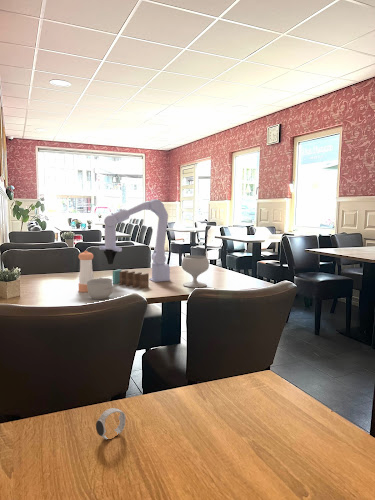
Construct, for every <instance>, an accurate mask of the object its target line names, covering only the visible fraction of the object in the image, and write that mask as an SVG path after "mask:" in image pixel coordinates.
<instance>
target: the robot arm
mask: <svg viewBox="0 0 375 500" xmlns="http://www.w3.org/2000/svg"><path fill="white" fill-rule="evenodd" d="M144 210H146V211H151V212H152V213H154V214H155V215H156V216H157V218H158V222H157V229H156V230H157V231H156V236H155V237H156V239H155V245H154V250H153V253H152V254H151V260H152V261H153V262H151V278H150V277H149V280H150V281H152V282H153V283H157V282H169V281H171V278H170V277H171V269H170V265H169V263H165V262H166V261H167V259H166V251H165V245H166V237H167V228H168V219H169V214H168V211H167V209H166V207H165V205H164V203H163V202H162V201H161V200H159V199H157V198H156V199H151V200H148V201H144V202H141V203H139V204H137V205H135V206H133V207H131V208H129V209H125V208H120V209H119V210H118V211H116V212H114V213H113V212H112V213H111V214H110V215H107V216H106V217H105V218H104V221H103V223H104V245H99V246H98V247H99V248H98V249H99V250H101V251H103V250H104V251H103V253H104V255H105V257H106V259H107V260H106V261H107V264H108V265H114V264H113V263H114V260H115V257H116V255H117V253H118V252H119V253H120V252H123V247H119V246H117V242H116V241H117V239H116V238H117V236H116V235H117V234H116V233H117V229H116V224H120V223H122V222H124V221H127V220H129V219H130V217H131V216H132V215H134V214H136V213H140V212H141V211H144Z"/></svg>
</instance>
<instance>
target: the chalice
mask: <svg viewBox="0 0 375 500" xmlns="http://www.w3.org/2000/svg"><path fill="white" fill-rule="evenodd" d="M209 262H210V261H209V259H208V257H207V256H205V255H185V256H184V257H182V261H181V268H182V270H183V271H184V272H186V273H188V274H189V275H191V277H192V281H188V282H184V283H183V286H184V287H188V288H195V289H197V288H198V287H199V288H203V287H206V286H207V283H203V282H199V281H198V280H197V279H198V277H199V276H200V275H202V274H203V273H205V272H206V271H208V270H209V267H210V263H209Z"/></svg>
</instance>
